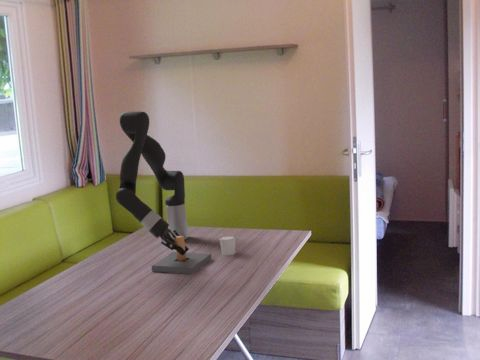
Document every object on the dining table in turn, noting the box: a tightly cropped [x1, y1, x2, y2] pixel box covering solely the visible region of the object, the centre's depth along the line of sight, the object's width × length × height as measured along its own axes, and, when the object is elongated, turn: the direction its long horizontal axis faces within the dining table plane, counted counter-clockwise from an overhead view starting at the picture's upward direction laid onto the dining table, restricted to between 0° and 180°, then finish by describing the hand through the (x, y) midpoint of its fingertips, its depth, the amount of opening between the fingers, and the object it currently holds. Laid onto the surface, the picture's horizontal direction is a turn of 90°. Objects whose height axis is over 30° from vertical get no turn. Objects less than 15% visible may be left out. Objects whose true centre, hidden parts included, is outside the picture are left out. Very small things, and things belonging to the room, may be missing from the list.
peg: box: [175, 236, 187, 262], centre depth 230 cm, size 4×4×11 cm
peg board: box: [151, 251, 212, 275], centre depth 231 cm, size 18×18×2 cm
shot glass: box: [219, 235, 236, 257], centre depth 242 cm, size 7×7×7 cm
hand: (185, 252), depth 230 cm, fingers closed on peg, 3 cm apart
